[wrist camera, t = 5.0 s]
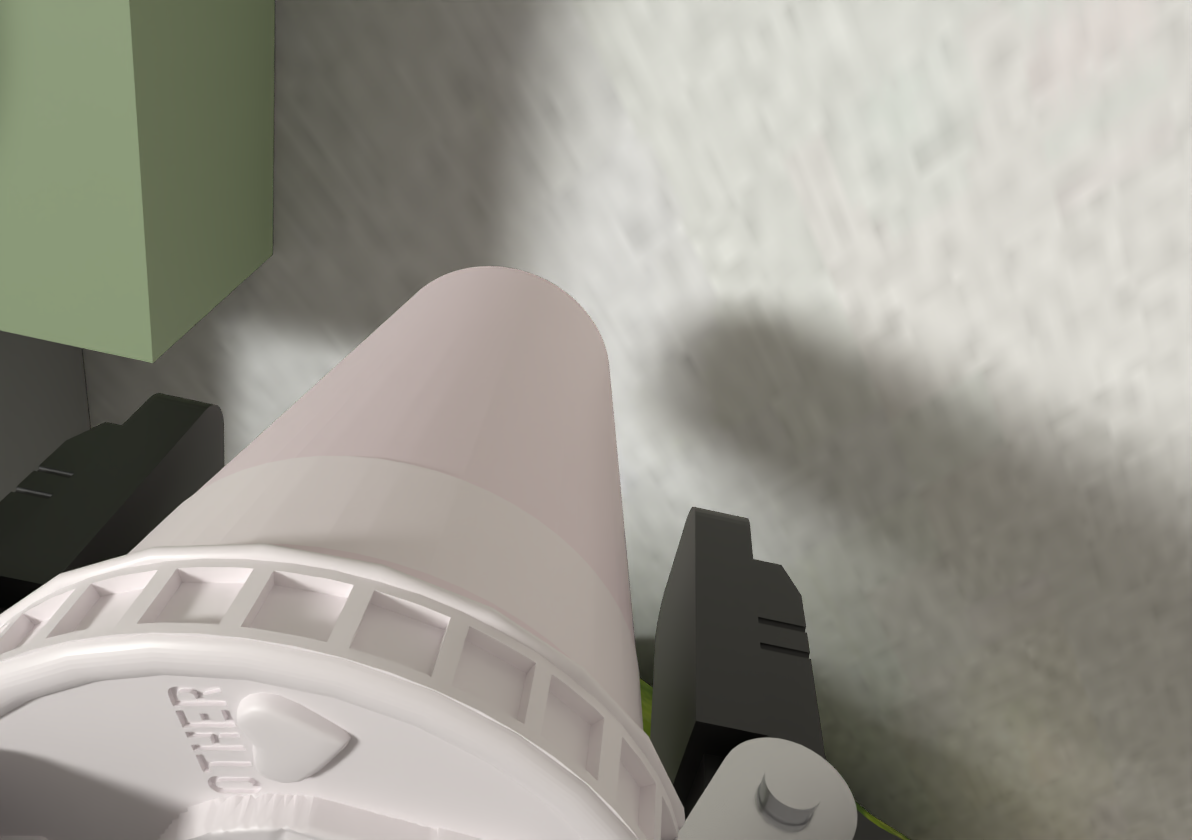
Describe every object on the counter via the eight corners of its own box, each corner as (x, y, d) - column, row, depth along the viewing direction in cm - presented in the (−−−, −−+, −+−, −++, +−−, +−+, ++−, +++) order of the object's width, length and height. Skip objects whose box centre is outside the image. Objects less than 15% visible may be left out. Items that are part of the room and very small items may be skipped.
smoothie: (756, 449, 16) (939, 2192, 4) (443, 571, 18) (-55, 1983, 6) (571, 101, 13) (-448, 2119, 1) (229, 290, 15) (-1393, 1794, 3)
